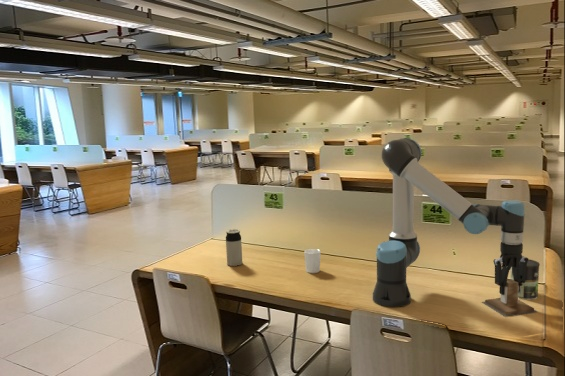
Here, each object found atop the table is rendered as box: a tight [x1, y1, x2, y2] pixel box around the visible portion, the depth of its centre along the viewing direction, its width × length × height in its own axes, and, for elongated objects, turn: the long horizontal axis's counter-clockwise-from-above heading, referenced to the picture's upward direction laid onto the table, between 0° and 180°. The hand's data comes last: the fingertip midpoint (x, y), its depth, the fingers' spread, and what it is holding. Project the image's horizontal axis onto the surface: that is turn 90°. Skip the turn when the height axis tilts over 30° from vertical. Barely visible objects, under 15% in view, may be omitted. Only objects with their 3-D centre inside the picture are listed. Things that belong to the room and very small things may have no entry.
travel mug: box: [225, 228, 243, 267], centre depth 241 cm, size 8×8×18 cm
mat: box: [481, 301, 538, 318], centre depth 177 cm, size 14×14×1 cm
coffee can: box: [510, 258, 540, 301], centre depth 187 cm, size 10×10×14 cm
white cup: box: [303, 248, 321, 274], centre depth 227 cm, size 8×8×10 cm
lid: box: [484, 278, 535, 315], centre depth 176 cm, size 12×12×10 cm
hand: (509, 301), depth 177 cm, fingers closed on lid, 4 cm apart
